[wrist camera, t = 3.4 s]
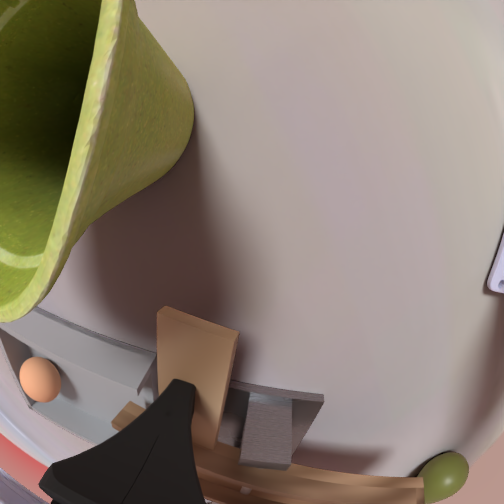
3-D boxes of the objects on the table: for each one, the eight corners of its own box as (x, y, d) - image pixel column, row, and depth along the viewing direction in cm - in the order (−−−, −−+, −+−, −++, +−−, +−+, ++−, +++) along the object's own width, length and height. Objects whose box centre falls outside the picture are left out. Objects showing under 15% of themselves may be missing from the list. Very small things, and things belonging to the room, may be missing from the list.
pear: (483, 480, 11) (433, 506, 16) (472, 438, 16) (427, 472, 21) (438, 499, 12) (392, 518, 17) (429, 452, 16) (388, 481, 21)
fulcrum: (323, 394, 15) (330, 462, 10) (283, 462, 18) (281, 511, 13) (220, 377, 15) (201, 446, 10) (208, 449, 18) (195, 499, 13)
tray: (157, 353, 15) (136, 389, 12) (162, 440, 18) (151, 468, 15) (15, 295, 15) (-11, 314, 12) (44, 388, 19) (28, 407, 16)
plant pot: (42, 187, 12) (-87, 234, 4) (96, 22, 9) (-27, -27, 1) (187, 255, 13) (71, 398, 4) (270, 52, 9) (243, -107, 1)
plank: (507, 385, 7) (525, 422, 5) (378, 508, 12) (375, 534, 10) (118, 282, 11) (77, 308, 9) (139, 443, 16) (122, 466, 13)
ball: (35, 388, 12) (5, 365, 12) (50, 418, 13) (20, 396, 14) (63, 359, 16) (32, 341, 16) (73, 390, 17) (43, 372, 17)
